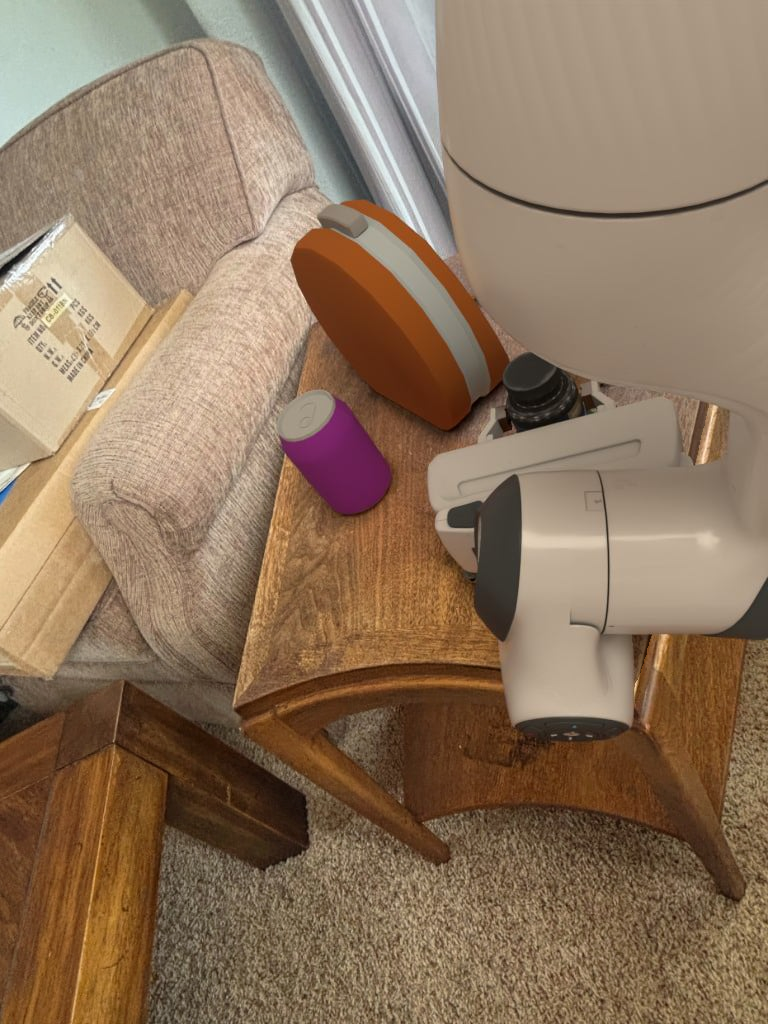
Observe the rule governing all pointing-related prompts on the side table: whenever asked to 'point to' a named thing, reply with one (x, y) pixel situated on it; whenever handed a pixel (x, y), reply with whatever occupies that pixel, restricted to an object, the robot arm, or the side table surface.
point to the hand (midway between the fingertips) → (544, 399)
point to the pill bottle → (539, 393)
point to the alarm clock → (397, 312)
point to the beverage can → (333, 451)
